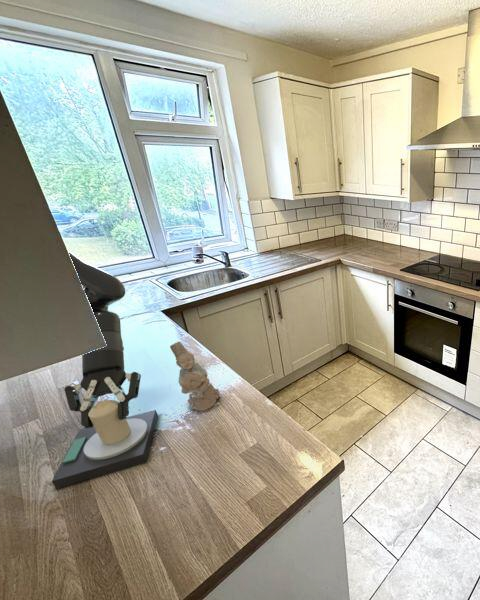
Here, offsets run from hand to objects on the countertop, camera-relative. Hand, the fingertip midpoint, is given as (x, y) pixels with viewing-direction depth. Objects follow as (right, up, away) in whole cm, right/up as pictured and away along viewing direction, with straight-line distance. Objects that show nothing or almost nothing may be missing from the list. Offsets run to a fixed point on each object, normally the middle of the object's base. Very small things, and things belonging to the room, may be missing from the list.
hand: (106, 422), depth 75 cm
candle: (-1, -5, +4) cm, 6 cm away
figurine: (+11, -1, +19) cm, 22 cm away
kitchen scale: (-2, -8, +4) cm, 9 cm away
